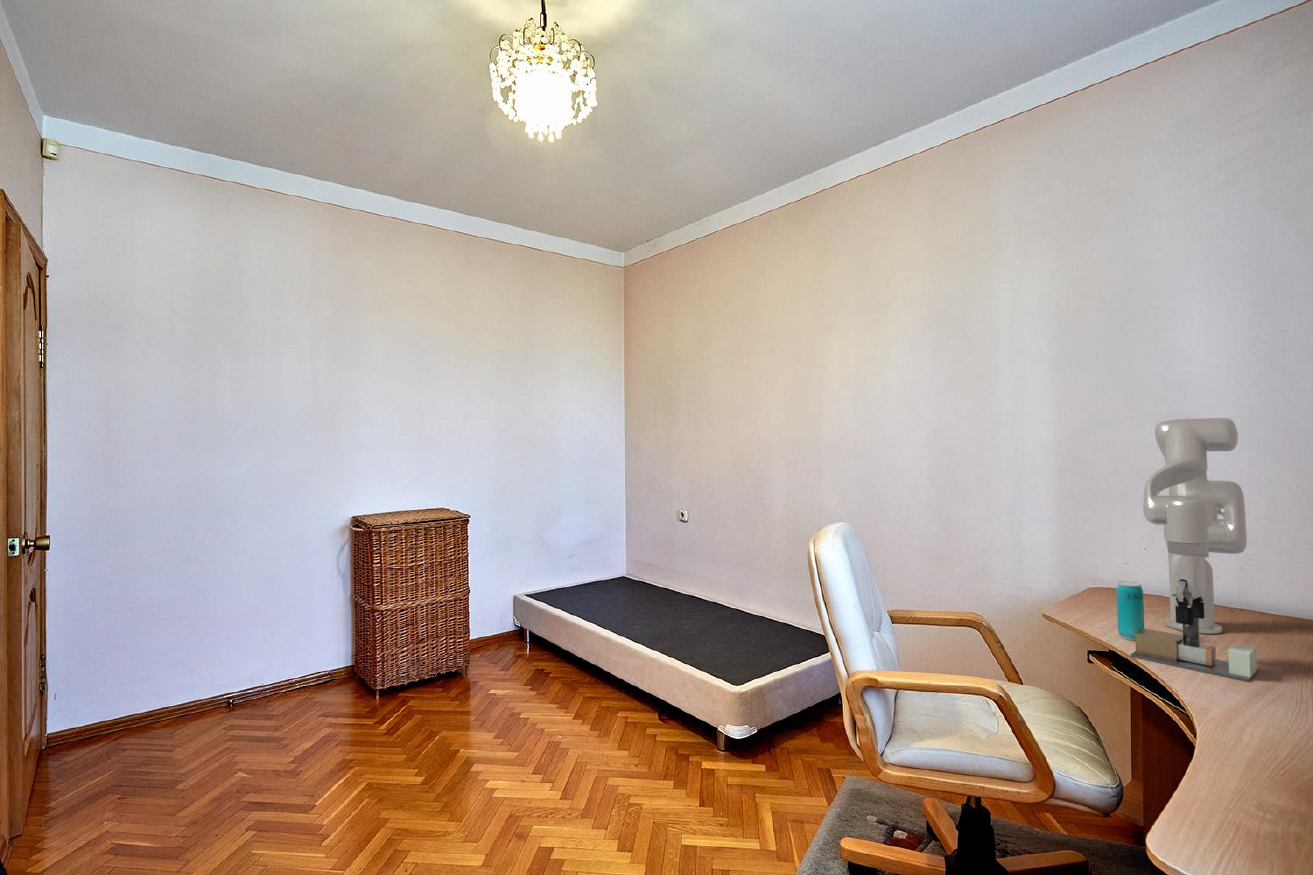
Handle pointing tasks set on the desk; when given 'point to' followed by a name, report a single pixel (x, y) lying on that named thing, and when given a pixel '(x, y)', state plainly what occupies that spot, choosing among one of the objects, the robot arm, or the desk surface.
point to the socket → (1242, 660)
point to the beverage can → (1130, 609)
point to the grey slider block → (1195, 646)
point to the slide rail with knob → (1175, 654)
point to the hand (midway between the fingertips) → (1190, 620)
